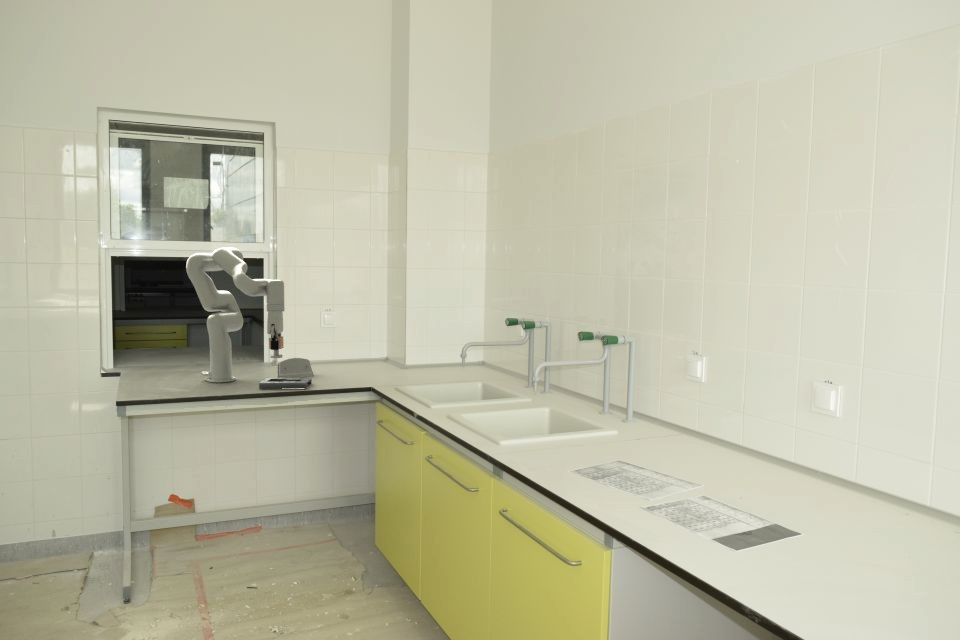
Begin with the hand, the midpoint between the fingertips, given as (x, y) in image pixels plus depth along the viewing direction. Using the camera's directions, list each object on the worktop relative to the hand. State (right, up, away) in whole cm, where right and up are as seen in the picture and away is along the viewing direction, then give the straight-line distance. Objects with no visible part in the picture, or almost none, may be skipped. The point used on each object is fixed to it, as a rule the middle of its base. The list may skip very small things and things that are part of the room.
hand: (276, 348), depth 319 cm
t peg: (0, -4, 0) cm, 4 cm away
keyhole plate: (+4, -17, +2) cm, 17 cm away
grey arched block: (+1, -15, +28) cm, 32 cm away
